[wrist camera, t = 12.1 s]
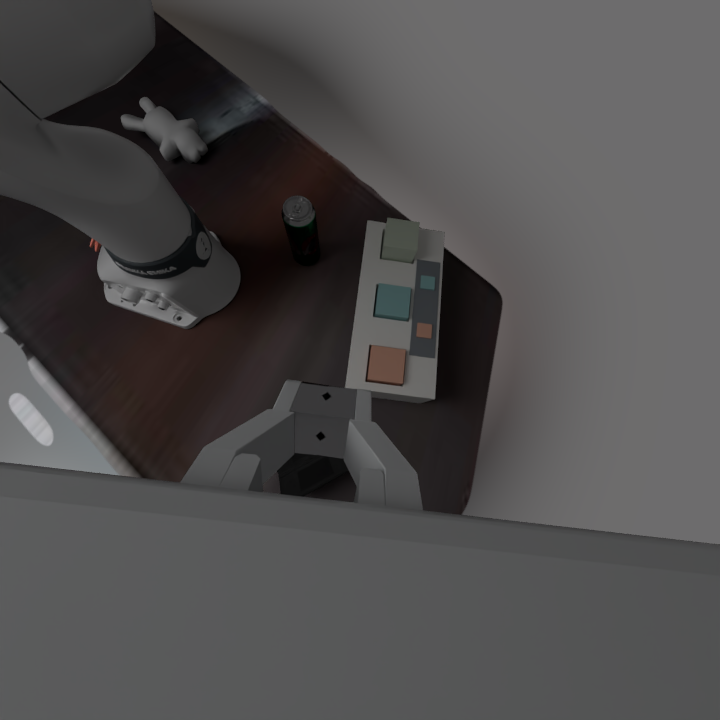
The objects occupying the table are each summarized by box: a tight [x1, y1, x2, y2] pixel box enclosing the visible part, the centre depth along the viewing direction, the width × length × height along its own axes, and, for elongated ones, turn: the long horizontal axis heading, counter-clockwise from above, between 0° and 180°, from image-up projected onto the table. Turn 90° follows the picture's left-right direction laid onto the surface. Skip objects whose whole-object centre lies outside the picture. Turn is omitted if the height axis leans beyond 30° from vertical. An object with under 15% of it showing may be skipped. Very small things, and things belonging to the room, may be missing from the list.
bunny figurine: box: [121, 97, 208, 163], centre depth 54 cm, size 10×5×15 cm
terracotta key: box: [365, 345, 406, 386], centre depth 42 cm, size 5×5×4 cm
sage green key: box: [381, 218, 419, 264], centre depth 45 cm, size 5×5×4 cm
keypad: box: [345, 220, 445, 403], centre depth 47 cm, size 13×28×8 cm, turn 173°
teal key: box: [373, 283, 411, 321], centre depth 44 cm, size 5×5×4 cm
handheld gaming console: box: [277, 453, 349, 497], centre depth 43 cm, size 12×7×10 cm
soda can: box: [282, 196, 320, 266], centre depth 47 cm, size 5×5×12 cm
